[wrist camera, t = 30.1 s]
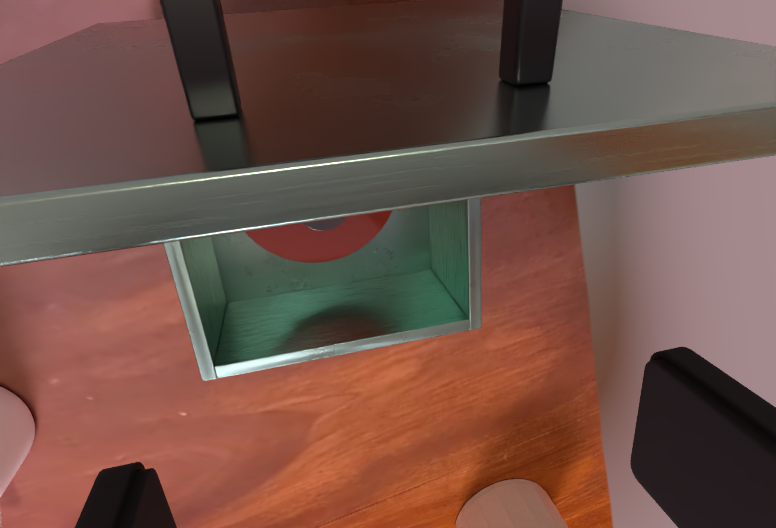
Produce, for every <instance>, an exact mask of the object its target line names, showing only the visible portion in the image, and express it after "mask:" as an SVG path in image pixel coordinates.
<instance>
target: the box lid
mask: <svg viewBox="0 0 776 528" xmlns="http://www.w3.org/2000/svg"><path fill="white" fill-rule="evenodd" d="M160 4H161V7H162V11H163V15H164V19H153V20H139V21H125V22H111V23H98V24H95V25H93V26H91V27H88V28H86V29H83V30H81V31H79V32H76V33H74V34H71V35H69V36H67V37H64V38H62V39H59V40H57V41H55V42H52V43H50V44H48V45H45V46H43V47H40V48H38V49H36V50H33V51H31V52H28V53H26V54H24V55H21V56H19V57H16V58H14V59H12V60H9V61H7V62H5V63H2V64H0V267H2V266H9V265H16V264H23V263H30V262H37V261H44V260H51V259H58V258H64V257H71V256H78V255H85V254H92V253H99V252H106V251H113V250H120V249H127V248H134V247H141V246H148V245H155V244H162V243H169V242H176V241H183V240H190V239H197V238H204V237H211V236H218V235H224V234H231V233H238V232H245V231H252V230H259V229H266V228H273V227H280V226H287V225H294V224H301V223H308V222H315V221H322V220H329V219H336V218H343V217H350V216H357V215H364V214H371V213H377V212H384V211H391V210H398V209H405V208H412V207H419V206H426V205H433V204H440V203H447V202H454V201H461V200H468V199H475V198H482V197H489V196H496V195H503V194H510V193H517V192H524V191H531V190H537V189H544V188H551V187H558V186H565V185H572V184H579V183H586V182H592V181H600V180H607V179H614V178H621V177H628V176H635V175H642V174H649V173H655V172H662V171H669V170H677V169H683V168H691V167H697V166H704V165H711V164H718V163H724V162H732V161H739V160H746V159H753V158H760V157H767V156H774V155H776V47H775V46H770V45H764V44H758V43H752V42H747V41H740V40H735V39H729V38H724V37H718V36H712V35H706V34H701V33H695V32H689V31H683V30H677V29H671V28H666V27H660V26H655V25H649V24H643V23H637V22H632V21H626V20H620V19H614V18H609V17H602V16H597V15H591V14H585V13H579V12H574V11H568V10H562V0H417V1H403V2H389V3H376V4H362V5H348V6H334V7H320V8H306V9H292V10H278V11H264V12H250V13H237V14H223V11H222V6H221V2H220V0H160Z"/></svg>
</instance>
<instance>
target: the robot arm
mask: <svg viewBox="0 0 776 528" xmlns="http://www.w3.org/2000/svg"><path fill="white" fill-rule="evenodd" d="M631 469H632V472H633V474H634V476H635V478H636V479H637V480H638V482H639V483H640V484H641V485H642V486H643V487H644V489H645V490H646V491H647V492H648V493H649V494H650V496H651V497H652V498H653V499H654V500H655V501H656V503H657V504H658V505H659V506H660V507H661V508H662V509H663V511H664V512H665V513H666V514H667V515H668V516H669V517H670V519H671V520H672V521H673V522H674V523H675V524H676V525H677V527H678V528H776V407H774V406H773V405H771V404H770V403H768V402H767V401H765V400H764V399H762V398H761V397H759V396H758V395H756V394H755V393H753V392H752V391H751V390H749V389H748V388H746V387H744V386H743V385H742V384H740V383H739V382H738V381H736V380H735V379H733V378H732V377H730V376H729V375H727V374H726V373H724V372H723V371H721V370H720V369H719V368H717V367H716V366H714V365H713V364H711V363H710V362H708V361H707V360H705V359H704V358H702V357H701V356H700V355H698V354H696V353H695V352H694V351H692V350H691V349H688V348H686V347H678V348H674V349H669V350H664V351H659V352H656V353H654V354H653V355H652V356H651V359H650V361H649V362H648V363H647V364H646V366H645V370H644V377H643V383H642V390H641V396H640V403H639V410H638V416H637V422H636V429H635V435H634V442H633V448H632V454H631ZM75 528H177V527H176V524H175V522H174V519H173V516H172V513H171V511H170V508H169V505H168V502H167V500H166V497H165V494H164V491H163V489H162V486H161V483H160V480H159V478H158V475H157V473H156V471H155V469H153V468H150V469H146V470H145V468H144V466H143V464H142V463H140V462H136V463H131V464H126V465H122V466H117V467H112V468H107V469H103V470H102V471H101V472H99V474H98V476H97V478H96V480H95V482H94V485H93V487H92V489H91V492H90V494H89V496H88V498H87V501H86V503H85V505H84V508H83V510H82V512H81V515H80V517H79V519H78V522H77V524H76V526H75Z"/></svg>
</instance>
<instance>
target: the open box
mask: <svg viewBox="0 0 776 528" xmlns="http://www.w3.org/2000/svg"><path fill="white" fill-rule="evenodd" d="M163 244H164V248H165V251H166V255H167V258H168V262H169V265H170V269H171V272H172V276H173V279H174V283H175V286H176V290H177V293H178V297H179V300H180V304H181V307H182V311H183V314H184V318H185V321H186V325H187V328H188V332H189V335H190V339H191V342H192V346H193V349H194V353H195V356H196V360H197V363H198V367H199V370H200V374H201V377H202V380H203V381H206V380H211V379H216V378H221V377H227V376H232V375H237V374H242V373H248V372H253V371H258V370H263V369H269V368H274V367H279V366H284V365H290V364H295V363H300V362H305V361H311V360H316V359H321V358H327V357H332V356H337V355H342V354H348V353H353V352H358V351H363V350H369V349H374V348H379V347H384V346H390V345H395V344H400V343H405V342H411V341H416V340H421V339H426V338H432V337H437V336H442V335H447V334H453V333H458V332H463V331H468V330H469V329H470V330H473V329H478V328H481V198H475V199H468V200H461V201H454V202H447V203H440V204H433V205H426V206H419V207H412V208H405V209H398V210H393V211H392V213H391V215H390V217H389V219H388V221H387V222H386V224H385V225H384V227H383V228H382V229H381V231H380V232H379V233H378V234H377V235H376V236H375V237H374V238H373V239H372V240H371V241H370V242H369V243H368V244H366V245H365V246H364V247H362V248H361V249H359V250H358V251H356V252H354V253H352V254H350V255H348V256H345V257H342V258H340V259H336V260H332V261H328V262H320V263H305V262H297V261H292V260H288V259H285V258H282V257H280V256H277V255H275V254H273V253H271V252H269V251H267V250H265V249H264V248H262V247H261V246H259V245H258V244H257V243H255V242H254V241H253V240H252V239H251V238H250V237H249V236H248V235H247V234H246V233H245V232H238V233H231V234H224V235H218V236H211V237H204V238H197V239H190V240H183V241H176V242H169V243H163Z"/></svg>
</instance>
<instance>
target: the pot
mask: <svg viewBox="0 0 776 528" xmlns="http://www.w3.org/2000/svg"><path fill="white" fill-rule="evenodd" d="M455 528H569V527H568V526H567V524H566V523H565V521H564V519H563V518H562V516H561V515H560V513H559V512H558V510H557V508H556V507H555V505H554V504H553V502H552V501H551V499H550V497H549V496H548V494H547V493H546V491H545V490H544V489H543V488H542V487H541V486H540V485H538V484H537V483H535V482H532V481H529V480H525V479H510V480H504V481H500V482H497V483H494V484H492V485H490V486H488V487H486V488H484V489H482V490H481V491H479V492H478V493H476V494H475V495H474V496H473V497H472V498H471V499H470V500H469V501H468V502H467V503H466V504H465V505H464V506H463V508H462V509H461V511H460V513H459V515H458V517H457V520H456V524H455Z"/></svg>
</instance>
